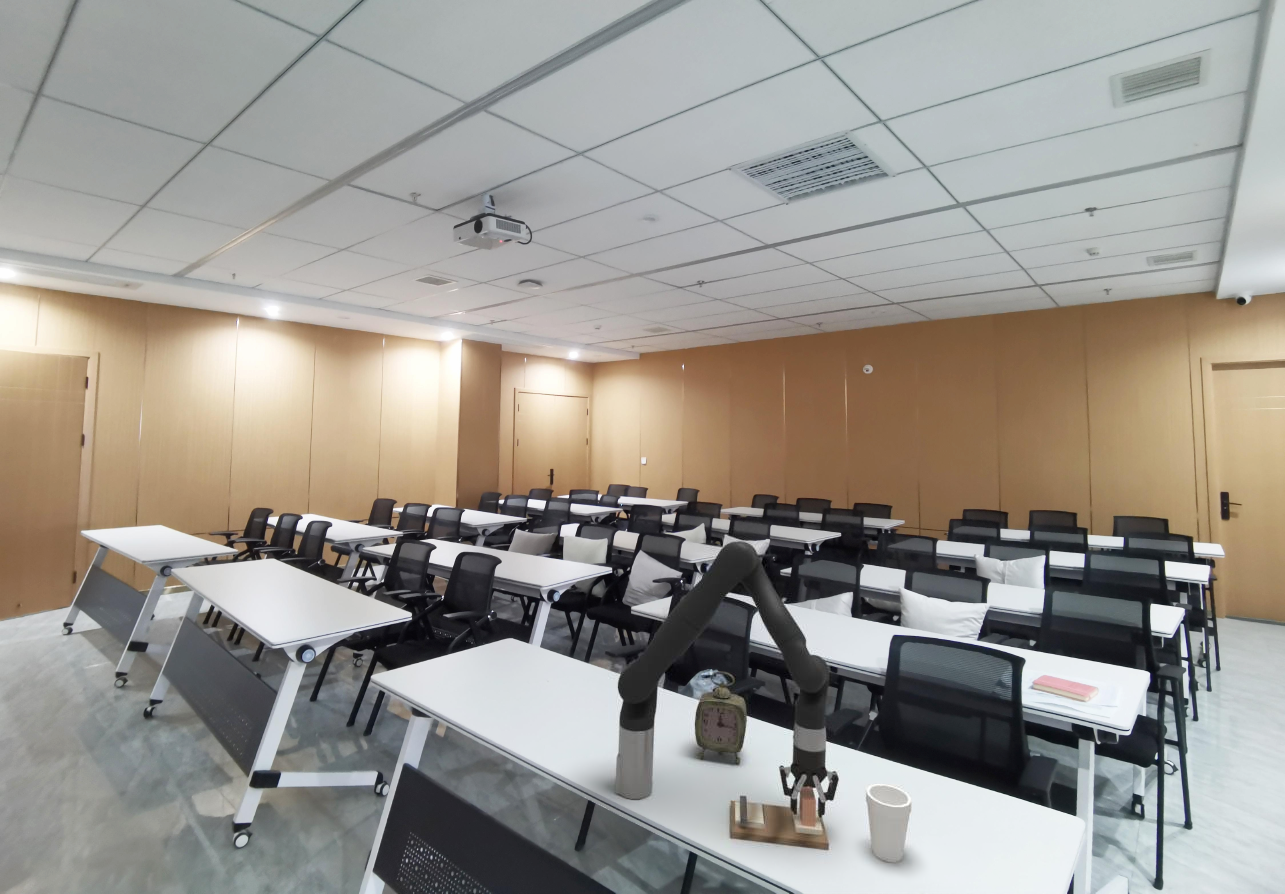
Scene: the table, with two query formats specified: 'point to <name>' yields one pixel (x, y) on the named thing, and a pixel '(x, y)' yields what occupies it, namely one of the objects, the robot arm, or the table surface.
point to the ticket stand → (771, 825)
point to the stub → (807, 814)
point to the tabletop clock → (721, 720)
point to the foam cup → (888, 820)
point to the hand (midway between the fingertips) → (807, 813)
